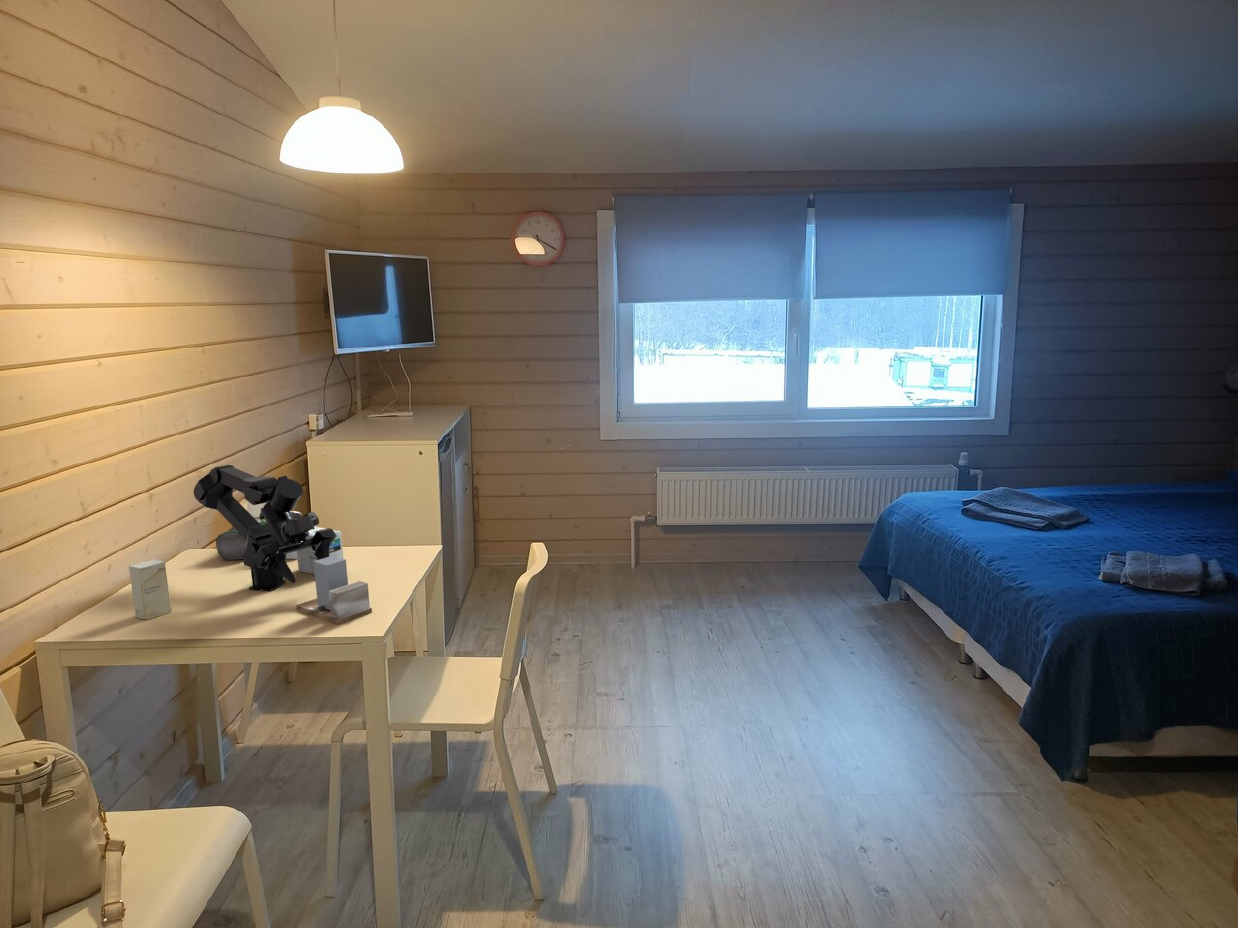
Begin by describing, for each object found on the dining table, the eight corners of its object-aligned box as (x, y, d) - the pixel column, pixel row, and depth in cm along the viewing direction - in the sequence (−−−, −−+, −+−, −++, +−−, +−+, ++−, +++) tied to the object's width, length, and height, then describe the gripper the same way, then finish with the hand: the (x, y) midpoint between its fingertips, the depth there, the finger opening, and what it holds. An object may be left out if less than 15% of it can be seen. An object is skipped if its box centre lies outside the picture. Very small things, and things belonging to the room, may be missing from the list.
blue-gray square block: (312, 607, 195) (307, 562, 193) (336, 598, 200) (332, 555, 198) (329, 613, 191) (324, 568, 189) (353, 604, 196) (349, 560, 194)
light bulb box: (345, 570, 225) (342, 530, 223) (324, 578, 219) (320, 537, 217) (318, 563, 231) (314, 525, 228) (297, 571, 225) (293, 531, 223)
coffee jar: (251, 559, 234) (283, 539, 252) (245, 531, 232) (278, 513, 250) (217, 562, 235) (252, 542, 253) (211, 534, 233) (246, 516, 251)
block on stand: (296, 609, 198) (293, 580, 197) (330, 597, 205) (328, 569, 204) (337, 624, 189) (334, 594, 187) (372, 612, 196) (369, 582, 194)
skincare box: (145, 620, 193) (138, 568, 191) (134, 617, 196) (127, 565, 193) (172, 611, 199) (165, 561, 196) (161, 608, 201) (154, 558, 198)
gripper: (255, 512, 193) (287, 569, 188) (328, 495, 207) (360, 547, 203) (240, 539, 199) (271, 595, 195) (312, 521, 213) (342, 572, 209)
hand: (312, 576), depth 200 cm, fingers open, 9 cm apart
